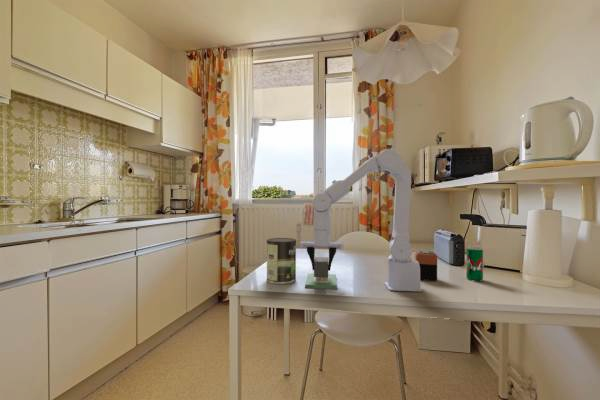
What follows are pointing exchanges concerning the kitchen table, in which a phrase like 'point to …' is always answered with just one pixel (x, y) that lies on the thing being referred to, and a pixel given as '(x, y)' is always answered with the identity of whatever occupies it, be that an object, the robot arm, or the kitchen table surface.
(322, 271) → the block
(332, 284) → the header board
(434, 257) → the battery
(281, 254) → the coffee can
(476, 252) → the soda can
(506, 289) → the kitchen table surface
